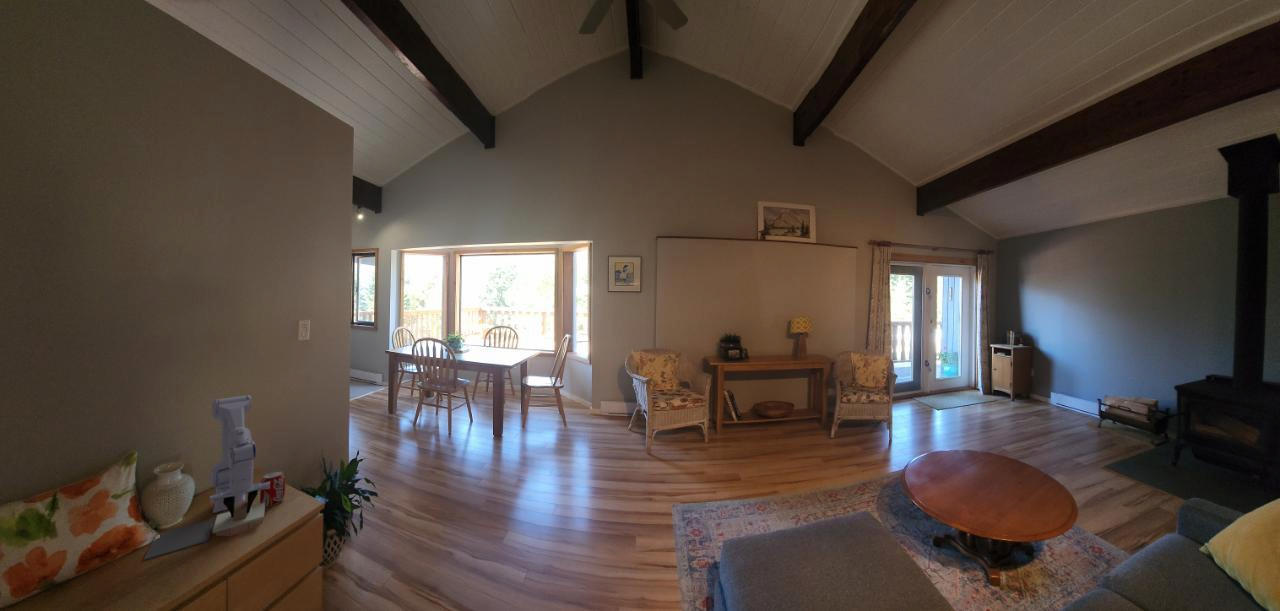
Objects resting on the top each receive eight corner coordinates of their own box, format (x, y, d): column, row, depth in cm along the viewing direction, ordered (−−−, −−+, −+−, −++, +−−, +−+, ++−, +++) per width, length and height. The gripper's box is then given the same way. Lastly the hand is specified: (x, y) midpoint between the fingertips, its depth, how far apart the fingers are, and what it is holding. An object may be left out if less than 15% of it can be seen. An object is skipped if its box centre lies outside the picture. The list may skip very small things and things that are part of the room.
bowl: (218, 525, 128) (219, 517, 127) (262, 512, 135) (263, 505, 135) (215, 540, 120) (215, 531, 120) (261, 526, 128) (262, 518, 128)
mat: (156, 535, 121) (156, 534, 121) (214, 520, 130) (214, 518, 130) (143, 561, 110) (143, 559, 110) (208, 541, 119) (208, 540, 119)
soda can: (268, 509, 138) (269, 479, 137) (254, 506, 139) (255, 477, 139) (289, 499, 145) (290, 471, 144) (276, 497, 146) (277, 469, 146)
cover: (217, 517, 127) (217, 504, 127) (265, 504, 136) (265, 492, 136) (212, 533, 119) (213, 519, 119) (264, 518, 128) (264, 505, 128)
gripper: (208, 489, 119) (207, 527, 120) (270, 475, 130) (269, 510, 130) (211, 481, 124) (210, 518, 125) (270, 468, 135) (269, 502, 135)
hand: (240, 514), depth 128 cm, fingers closed on cover, 3 cm apart
